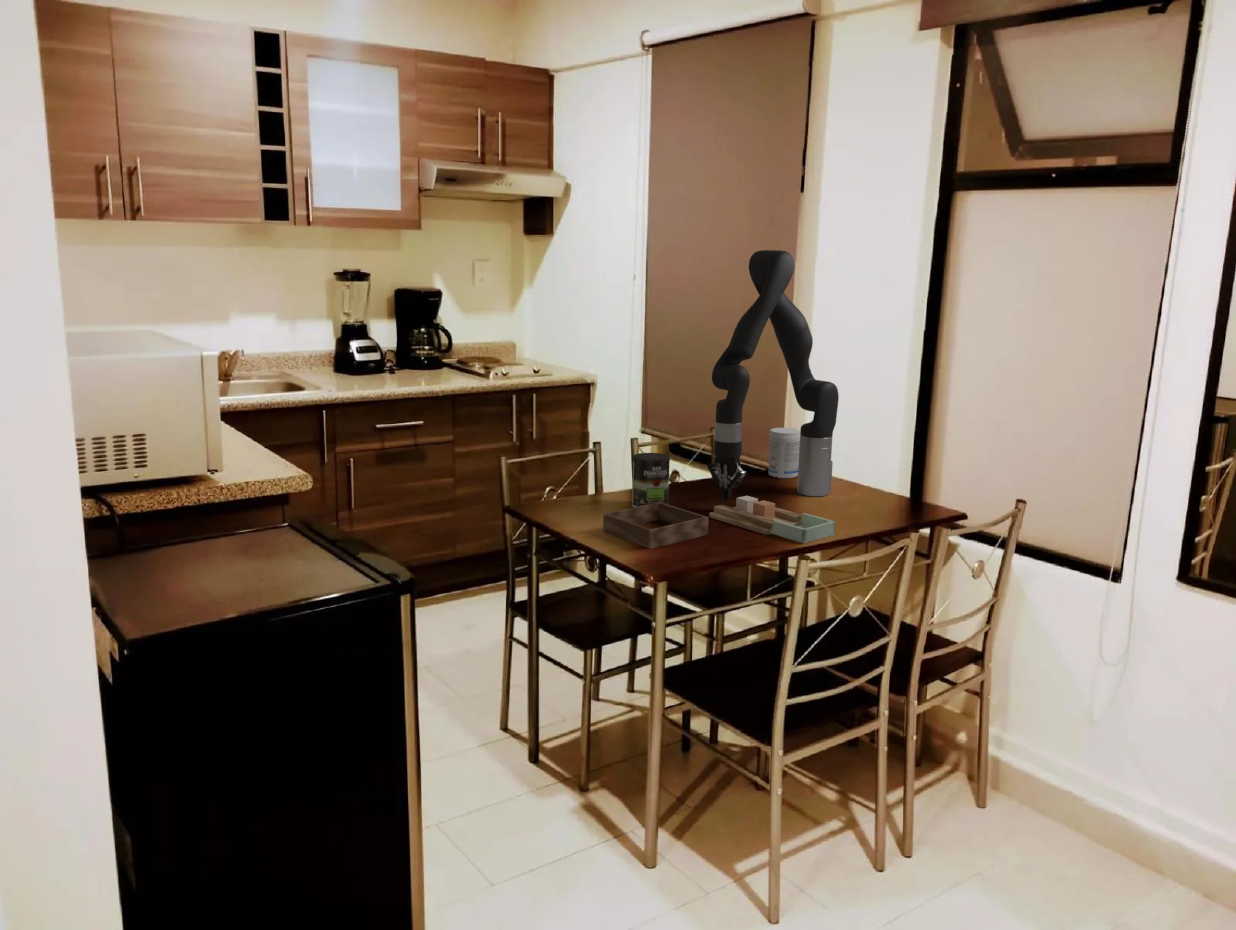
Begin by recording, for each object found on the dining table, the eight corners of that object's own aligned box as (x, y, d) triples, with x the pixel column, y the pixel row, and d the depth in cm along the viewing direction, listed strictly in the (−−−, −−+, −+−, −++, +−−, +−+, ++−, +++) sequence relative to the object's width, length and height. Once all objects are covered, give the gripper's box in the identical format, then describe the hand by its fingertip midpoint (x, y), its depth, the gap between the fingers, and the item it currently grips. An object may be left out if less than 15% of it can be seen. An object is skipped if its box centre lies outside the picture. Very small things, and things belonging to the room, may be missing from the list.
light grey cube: (746, 510, 254) (746, 495, 253) (757, 513, 251) (758, 498, 250) (735, 512, 252) (736, 497, 251) (746, 515, 249) (747, 501, 248)
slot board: (750, 507, 261) (750, 498, 261) (807, 523, 246) (807, 513, 246) (709, 517, 251) (709, 507, 251) (765, 534, 236) (766, 524, 236)
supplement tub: (799, 473, 303) (802, 428, 299) (797, 480, 294) (800, 433, 290) (769, 471, 305) (771, 426, 302) (766, 477, 296) (768, 431, 293)
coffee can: (673, 509, 258) (675, 459, 255) (638, 512, 255) (639, 461, 252) (661, 500, 268) (662, 451, 265) (627, 502, 265) (627, 453, 262)
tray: (803, 525, 245) (804, 513, 244) (834, 534, 237) (835, 521, 236) (772, 533, 237) (773, 520, 236) (803, 543, 230) (804, 530, 229)
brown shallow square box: (659, 518, 249) (659, 502, 248) (707, 534, 236) (708, 517, 235) (603, 531, 238) (603, 513, 237) (650, 548, 224) (651, 530, 223)
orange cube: (762, 514, 250) (763, 500, 249) (774, 518, 247) (775, 503, 246) (752, 517, 247) (753, 502, 246) (764, 520, 244) (764, 505, 243)
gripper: (756, 440, 251) (753, 503, 254) (720, 433, 261) (717, 494, 264) (736, 444, 246) (733, 508, 250) (700, 436, 256) (698, 498, 260)
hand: (725, 500), depth 257 cm, fingers closed
